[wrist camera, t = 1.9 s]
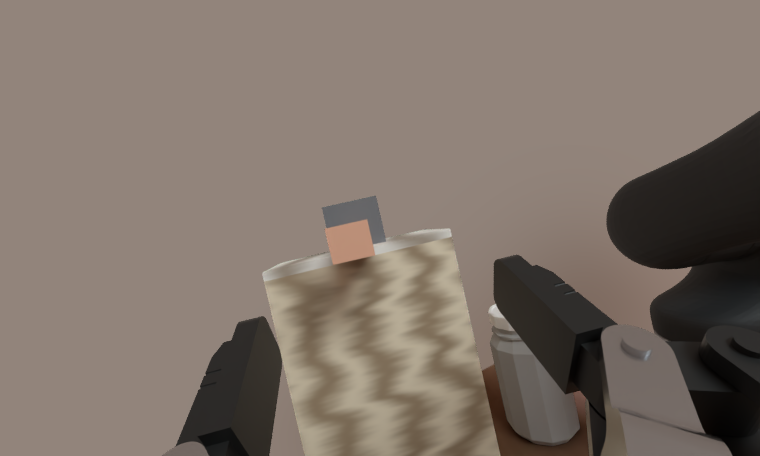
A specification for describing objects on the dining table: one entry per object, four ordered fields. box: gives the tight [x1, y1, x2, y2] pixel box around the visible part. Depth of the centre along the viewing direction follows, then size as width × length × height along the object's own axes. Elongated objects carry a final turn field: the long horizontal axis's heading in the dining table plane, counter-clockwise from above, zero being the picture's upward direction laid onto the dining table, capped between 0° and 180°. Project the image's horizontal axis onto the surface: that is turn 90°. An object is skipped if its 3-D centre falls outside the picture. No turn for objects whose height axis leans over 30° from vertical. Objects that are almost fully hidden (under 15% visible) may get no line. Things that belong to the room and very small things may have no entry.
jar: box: [488, 304, 580, 446], centre depth 44 cm, size 10×10×18 cm
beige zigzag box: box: [262, 229, 500, 456], centre depth 40 cm, size 22×11×32 cm, turn 98°
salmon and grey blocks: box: [322, 196, 386, 265], centre depth 34 cm, size 20×7×6 cm, turn 3°
